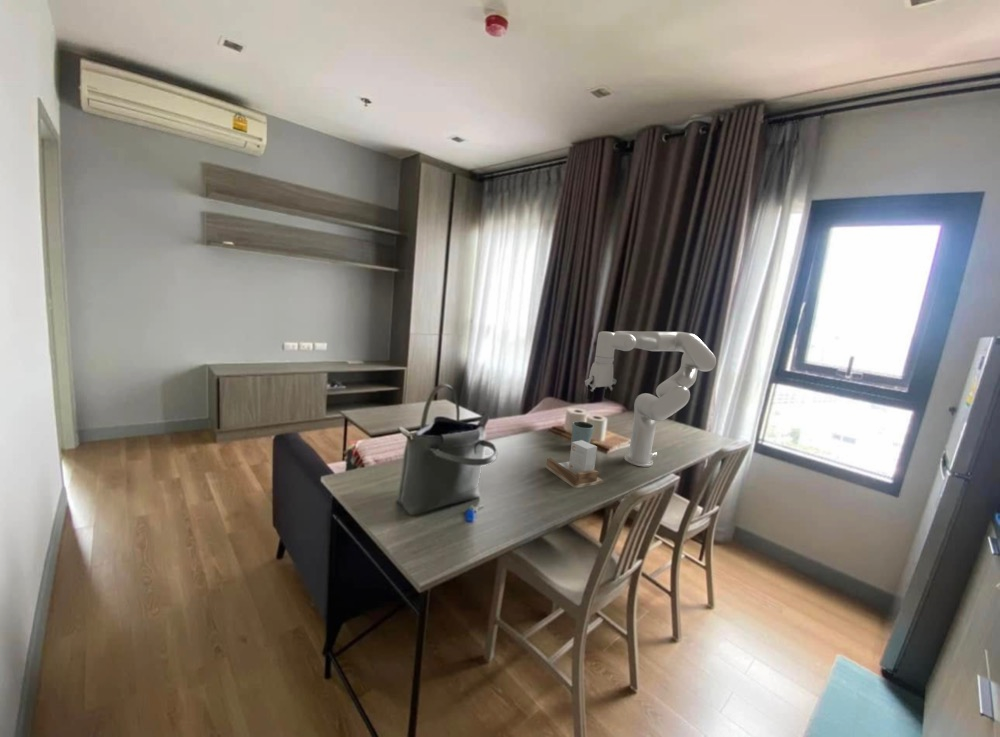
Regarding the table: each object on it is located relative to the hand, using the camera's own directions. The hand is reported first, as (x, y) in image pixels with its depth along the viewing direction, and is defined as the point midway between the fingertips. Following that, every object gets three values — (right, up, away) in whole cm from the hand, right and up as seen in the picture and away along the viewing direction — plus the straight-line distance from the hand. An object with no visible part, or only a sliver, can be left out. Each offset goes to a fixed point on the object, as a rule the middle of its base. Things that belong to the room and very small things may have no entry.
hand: (598, 399), depth 179 cm
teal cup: (-5, -25, +19) cm, 32 cm away
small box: (-11, -29, -15) cm, 35 cm away
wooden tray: (-13, -30, -13) cm, 35 cm away
